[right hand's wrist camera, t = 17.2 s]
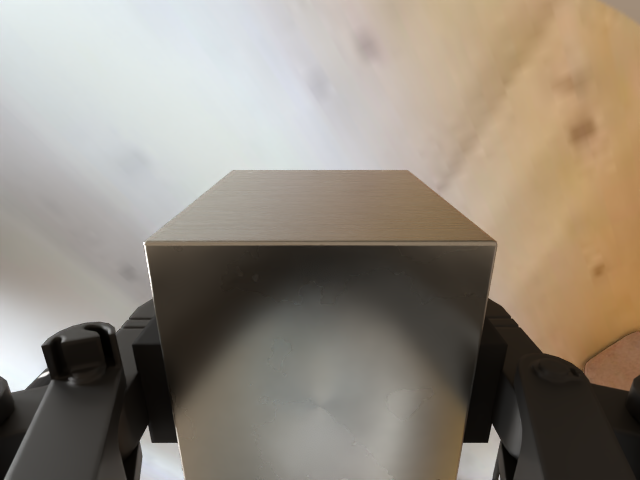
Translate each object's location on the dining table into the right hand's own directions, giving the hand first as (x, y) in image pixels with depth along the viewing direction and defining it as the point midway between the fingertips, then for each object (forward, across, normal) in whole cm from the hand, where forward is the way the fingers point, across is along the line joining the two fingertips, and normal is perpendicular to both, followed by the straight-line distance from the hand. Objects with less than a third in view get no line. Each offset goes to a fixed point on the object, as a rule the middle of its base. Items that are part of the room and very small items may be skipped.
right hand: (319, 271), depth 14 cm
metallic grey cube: (0, 0, 0) cm, 0 cm away
